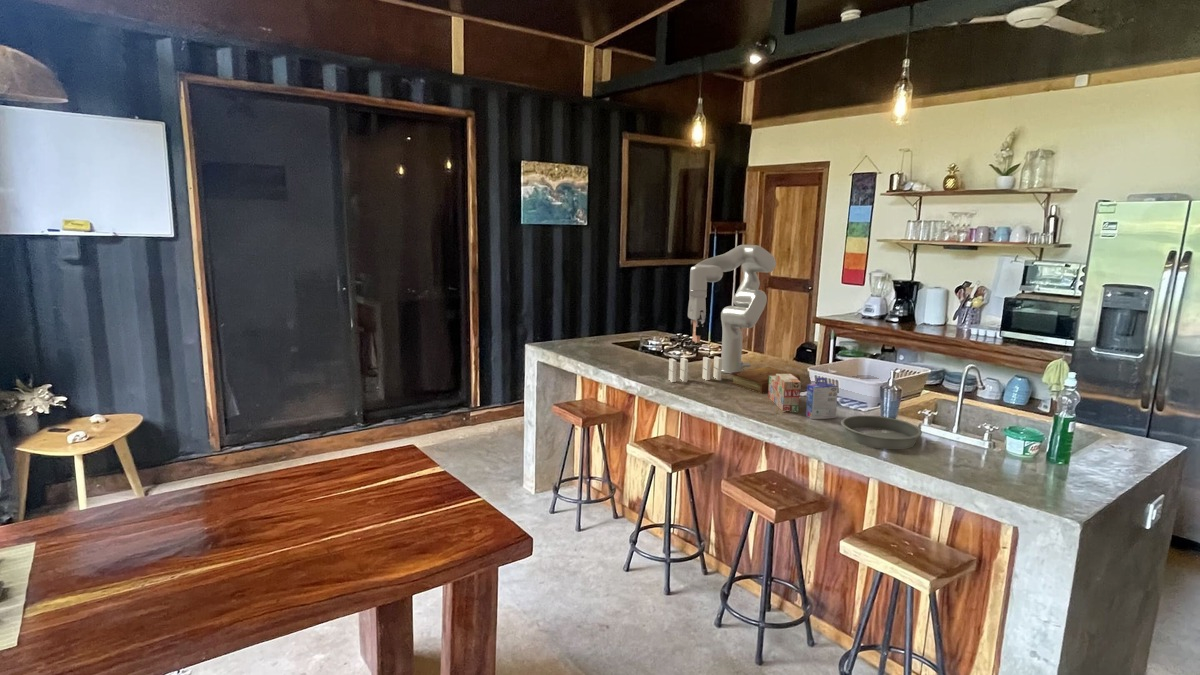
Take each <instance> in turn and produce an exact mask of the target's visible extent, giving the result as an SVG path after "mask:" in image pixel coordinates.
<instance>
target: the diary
mask: <svg viewBox="0 0 1200 675" xmlns="http://www.w3.org/2000/svg"><path fill="white" fill-rule="evenodd" d="M776 374H792V375H793V376H794V377H796V378H797V379H798V380H799V381H800V380H801V377H800V375H799V374H796V373H793V372H789V371H786V370H781V369H778V368H774V367H772V366H771V367H770V366H766V367H765V366H764V367H758V368H752V369H746V370H745V369H744V371H738V372H731V374H730V375H732V382H730V384H731V385H734V386H737V385H738V386H737V387H740V386H741V387H740V388H743V387H745V388H744V389H746V388H747V390H749V389H751V390H750V391H752V390H754V392H756V391H757V392H756V393H759V392H760V393H759V394H763V392H764V393H768V392H769V376H776ZM800 382H801V381H800Z"/></svg>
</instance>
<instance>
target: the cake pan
mask: <svg viewBox="0 0 1200 675" xmlns="http://www.w3.org/2000/svg"><path fill="white" fill-rule="evenodd" d="M840 422H841V425H842V426H843V428H844V433H845V436H846V438H847V439H848V440H850V439H851V440H850V441H853V442H854V443H857V444H859V445H863V446H866V447H872V448H875V449H881V450H882V449H883V450H884V449H885V450H904V449H909V448H912V447H914V446H915V444H916V442H917V439H918V438H919V437H920V436H921V435H922V434H923V431H922V430H921V428H920V427H918V426H917V425H915V424H913V423H910V422H908V421H904V420H901V419H898V418H893V417H887V416H878V415H851V416H847V417H845V418H843V419H841V421H840ZM856 428H858V429H877V430H884V431H888V432H881V433H879V432H878V433H877V432H876V433H875V432H874V433H871V432H870V433H866V432H865V433H864V432H860V431H857V430H856Z"/></svg>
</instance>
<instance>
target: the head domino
mask: <svg viewBox="0 0 1200 675" xmlns="http://www.w3.org/2000/svg"><path fill="white" fill-rule="evenodd" d="M669 380H670V381H669ZM668 381H669V382H671V383H672V382H676V383H677V360H676V359H674V358H668Z"/></svg>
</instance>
